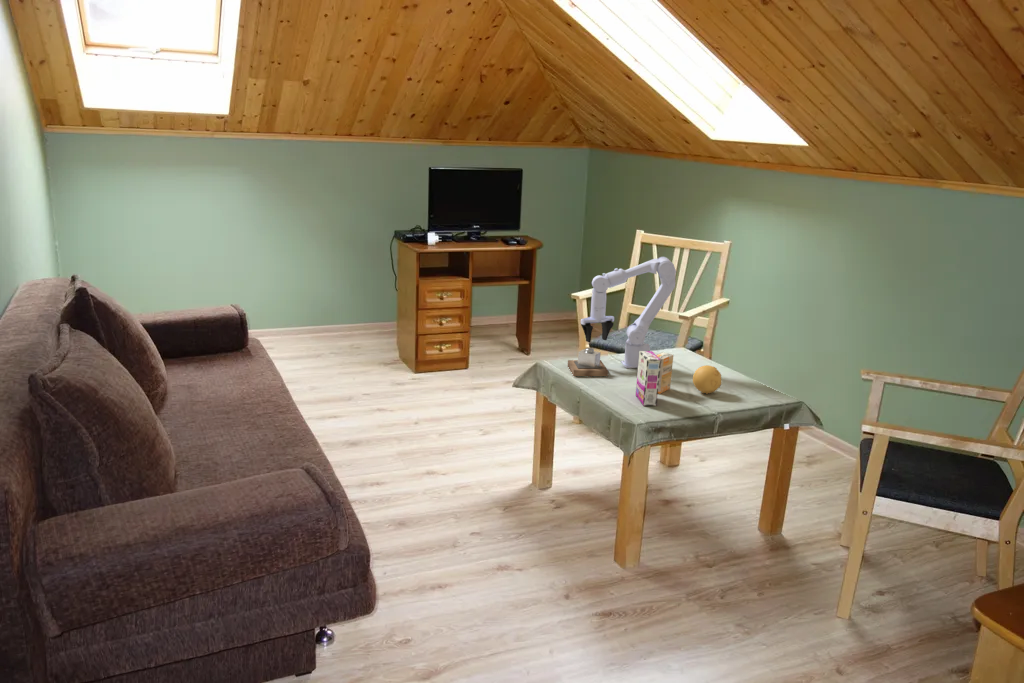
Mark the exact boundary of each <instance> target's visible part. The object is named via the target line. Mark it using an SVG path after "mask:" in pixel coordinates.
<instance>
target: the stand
mask: <svg viewBox="0 0 1024 683" xmlns="http://www.w3.org/2000/svg"><path fill="white" fill-rule="evenodd" d="M577 361H578V359H575V360H574V359H572V360H571V359H568V360H567V368H568V367H569V368H568V370H569V369H570V370H569V371H570V373H571V372H572V373H571V375H572V374H573V375H572V376H588V377H587V378H591V377H592V376H609V369H608V368H607V366H605V364H604V363H603V361H602V360H601V359H600V364H601V367H595V368H593V367H588V366H583V365H578V363H577ZM589 376H591V377H589Z"/></svg>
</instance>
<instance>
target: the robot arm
mask: <svg viewBox="0 0 1024 683" xmlns="http://www.w3.org/2000/svg"><path fill="white" fill-rule="evenodd" d="M646 273H650V274H653V275H654V274H655V275H657V274H658V276H659V279H660V285H659V287H658V288H657V289H656V291H655V293H654V294H653V296H652V298H651V299H650V301H649V302H648V303H647V305H646V306H645V308H644V309H643V310H642V312H641V314H640V315H639V317H638V318H636V319H635V320H634V322H633V323H631V324H629V326H627V329H626V331H625V332H626V336H627V337H628V338H627V340H625V347H624V360H621V362H620V363H621V364H622V365H623V366H624V367H625V369H626V368H627V369H638V362H639V351H651V346H650V344H649V343H645V340H646V335H647V333H648V331H649V327H650V325H651V324H652V322H653V321H654V320H655V318H656V316H657V315H658V314H659V312H660V310H661V309H662V308H663V306H664V304H665V303H666V301H667V300H668V298H669V297H670V296H671V294H672V293H673V291H674V290H675V287H676V277H677V276H676V275H677V269H676V267H675V264H674V263H673V262H672V261H671V260H670V259H669V257H666V256H660V257H657V258H652V259H650V260H647V261H644V262H643V263H640V264H637V265H634V266H632V267H630V268H627V269H623V268H619V269H618V267H616V268H614V270H612V271H609V272H607V273H605V272H603V273H602V275H599V274H598V275H596V276H594V277H593V278H592V281H591V286H592V287H593V288H592V291H591V292H592V294H591V301H590V316H588V317H584V318H581V319H580V325H581V328H582V330H583V333H584V336H585V342H587V343H591V342H592V334H593V333H592V332H593V329H594V326H593V325H592V324H599V323H600V324H601V340H602V341H607V340H608V337H609V334H610V332H611V330H612V328H613V327H614V322H615V316H613V315H606V313H607V312H606V310H607V308H606V307H607V297H608V296H607V291H608V288H609V289H611V288H614V287H617V286H619V285H623V284H625V283H626V282H627V280H628V279H629V278H630V279H631V278H633V277H637V276H640V275H643V274H646Z"/></svg>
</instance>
